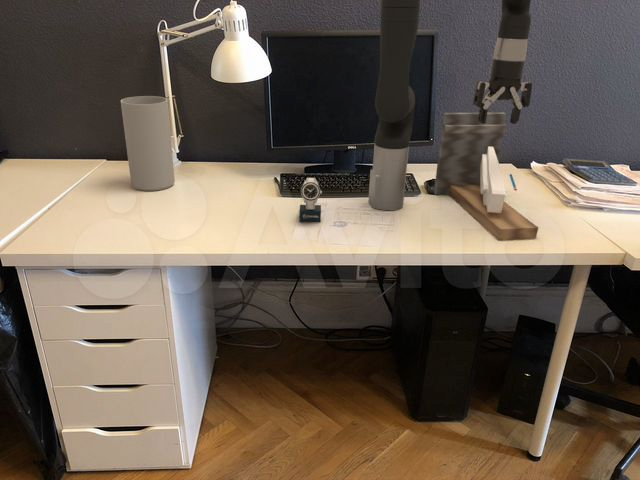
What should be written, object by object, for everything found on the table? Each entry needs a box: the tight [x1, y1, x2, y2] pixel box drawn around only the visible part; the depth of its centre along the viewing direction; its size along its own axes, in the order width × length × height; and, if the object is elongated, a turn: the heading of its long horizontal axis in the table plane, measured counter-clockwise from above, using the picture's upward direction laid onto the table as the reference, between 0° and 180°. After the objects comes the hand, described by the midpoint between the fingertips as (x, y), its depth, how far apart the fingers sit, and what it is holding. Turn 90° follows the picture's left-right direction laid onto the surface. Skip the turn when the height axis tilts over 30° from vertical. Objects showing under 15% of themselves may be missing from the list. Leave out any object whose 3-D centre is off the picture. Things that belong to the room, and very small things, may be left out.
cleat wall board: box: [433, 111, 539, 241], centre depth 142 cm, size 18×34×24 cm, turn 10°
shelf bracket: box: [480, 146, 506, 213], centre depth 147 cm, size 6×25×13 cm, turn 170°
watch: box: [298, 177, 323, 223], centre depth 138 cm, size 6×8×11 cm
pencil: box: [509, 173, 518, 191], centre depth 173 cm, size 1×17×1 cm, turn 168°
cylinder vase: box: [120, 95, 176, 192], centre depth 156 cm, size 12×12×25 cm
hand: (497, 123), depth 139 cm, fingers open, 8 cm apart
